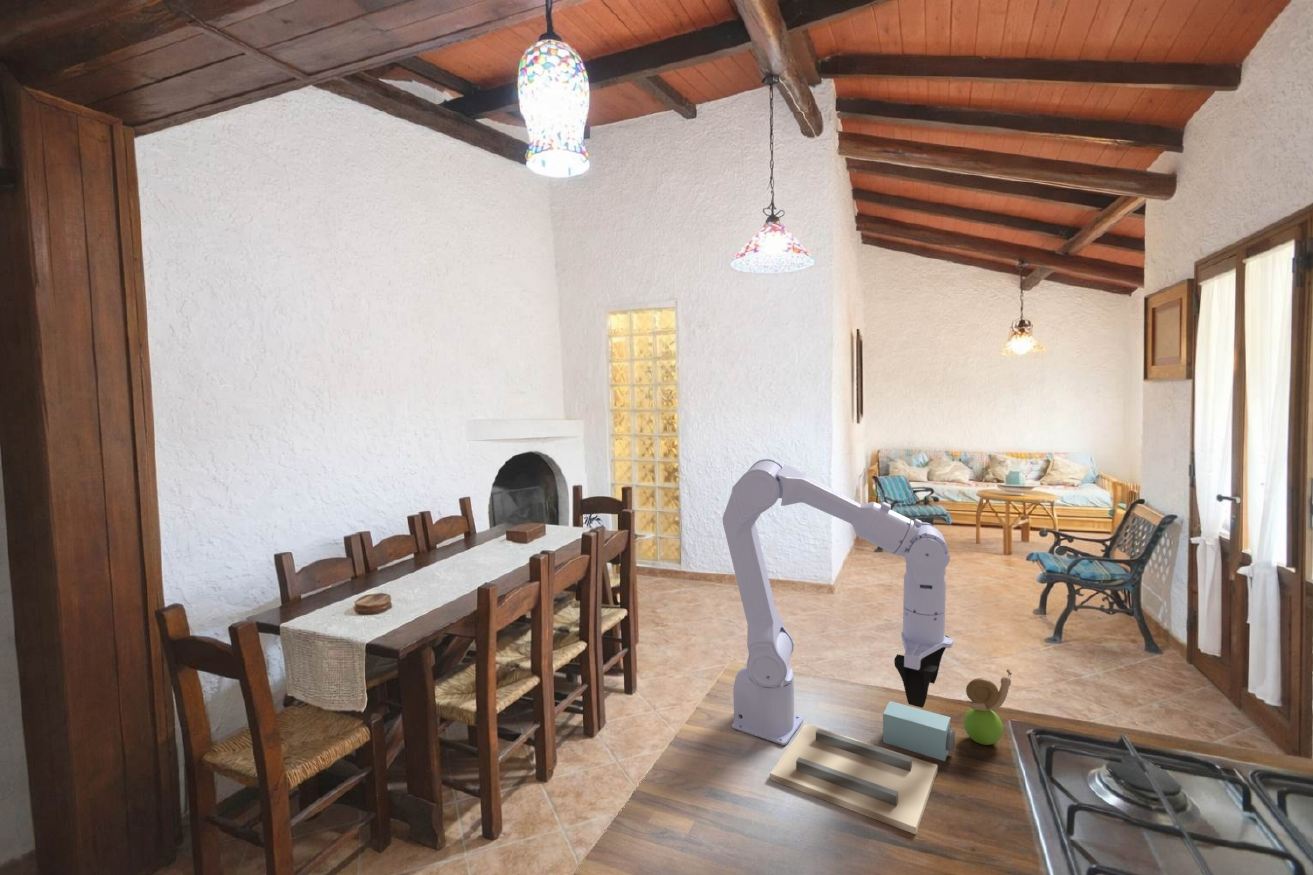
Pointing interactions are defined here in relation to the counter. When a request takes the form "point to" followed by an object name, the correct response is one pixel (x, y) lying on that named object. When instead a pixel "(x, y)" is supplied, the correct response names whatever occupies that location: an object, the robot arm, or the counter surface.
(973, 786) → the counter surface
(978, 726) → the snail figurine
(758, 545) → the robot arm
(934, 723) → the pale blue tall carton
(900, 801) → the jig board
